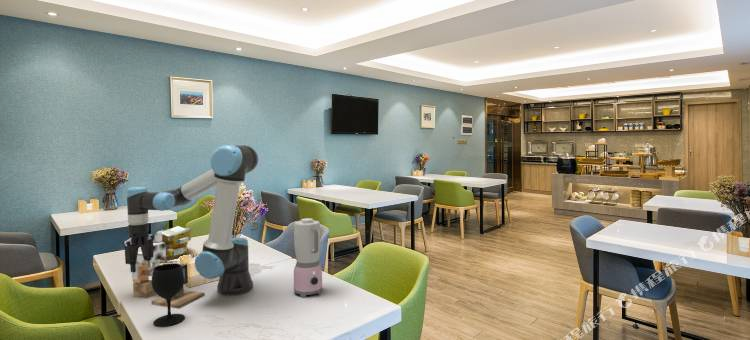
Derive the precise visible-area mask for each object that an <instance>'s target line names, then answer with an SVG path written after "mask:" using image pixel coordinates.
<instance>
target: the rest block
mask: <svg viewBox="0 0 750 340" xmlns="http://www.w3.org/2000/svg"><path fill="white" fill-rule="evenodd" d="M132 288H133V289H132V291H133V297H134V296H135V297H134V298H142V299H148V298H150V297H153V296H156V295H157V294H156V293H155V292H154V290H153V288H152V279H149V280H147V281H144V282H142V283H135V282H132Z"/></svg>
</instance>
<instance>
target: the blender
mask: <svg viewBox="0 0 750 340" xmlns="http://www.w3.org/2000/svg"><path fill="white" fill-rule="evenodd" d="M293 226H294V227H293V244H294V245H293V246H294V252H295V253H294V254H295V258H296V263H295V266H294V268H293V292H294V293H295V294H297V295H300V297H301V298H306V297H307V295H314V294H317V295H318V294H319V295H321V294H322V291H323V269H322V266H321V265H322V264H320V263H321V262H320V261H319V260H320V253H321V245H322V244H321V243H322V241H321V239H322V238H321V236H322V235H321V223H320V221H319V220H314V219H313V218H312V217H311V218H301V219H300V220H299V221H296V222H294V224H293ZM320 293H321V294H320Z"/></svg>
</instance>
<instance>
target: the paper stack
mask: <svg viewBox="0 0 750 340" xmlns="http://www.w3.org/2000/svg"><path fill="white" fill-rule="evenodd" d="M190 228H191V227H182V226H180V225H177V226H175V227H172V228H171V227H170V228H166V229H163V230H159V231H157V232H161V233H162V242H164V243H165V246H166V257H165V258H162V259H160V263H166V262H165V261H170V260H174V259H178V258H179V257H180V256H183V255H189V254H190V255H191V257H192V256H193V255H194V257H196V256H197V255H198V252H197V250H196V249H195V248H192V247H189V246H188V243H189V242H190V241H192V236H191V235H192V234H191V233H192V230H191V229H190ZM157 232H156V233H157ZM153 243H154V239H153Z"/></svg>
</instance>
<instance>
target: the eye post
mask: <svg viewBox="0 0 750 340" xmlns="http://www.w3.org/2000/svg"><path fill="white" fill-rule="evenodd" d="M179 264H180V265H181V267H182V270H183V274H184V282H183V286H182V288H181V290H180V291H179V292H178V293H177V294H176V295H175V296H174V298H177V299H179V298H181V297H183V296H184V290H185V289H184V287H185V285H186V284H188V283H189V281H188V280H189V276H188V275H189V274H188V273H189V272H188V263H179Z"/></svg>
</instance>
